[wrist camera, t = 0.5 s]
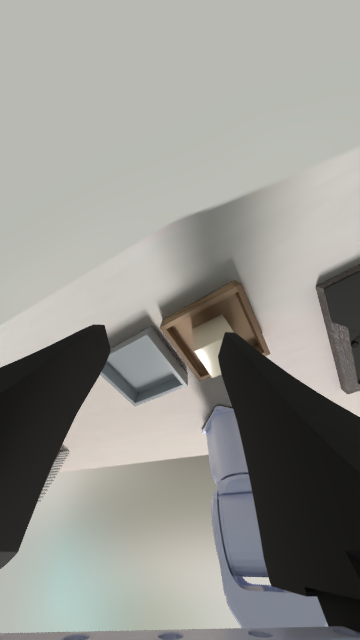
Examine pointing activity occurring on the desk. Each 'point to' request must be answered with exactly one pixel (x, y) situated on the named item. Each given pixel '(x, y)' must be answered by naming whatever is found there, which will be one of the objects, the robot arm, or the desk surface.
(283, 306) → the desk surface
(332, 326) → the picture frame
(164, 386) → the grey tray
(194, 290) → the desk surface
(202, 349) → the sandstone block
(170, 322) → the walnut tray
